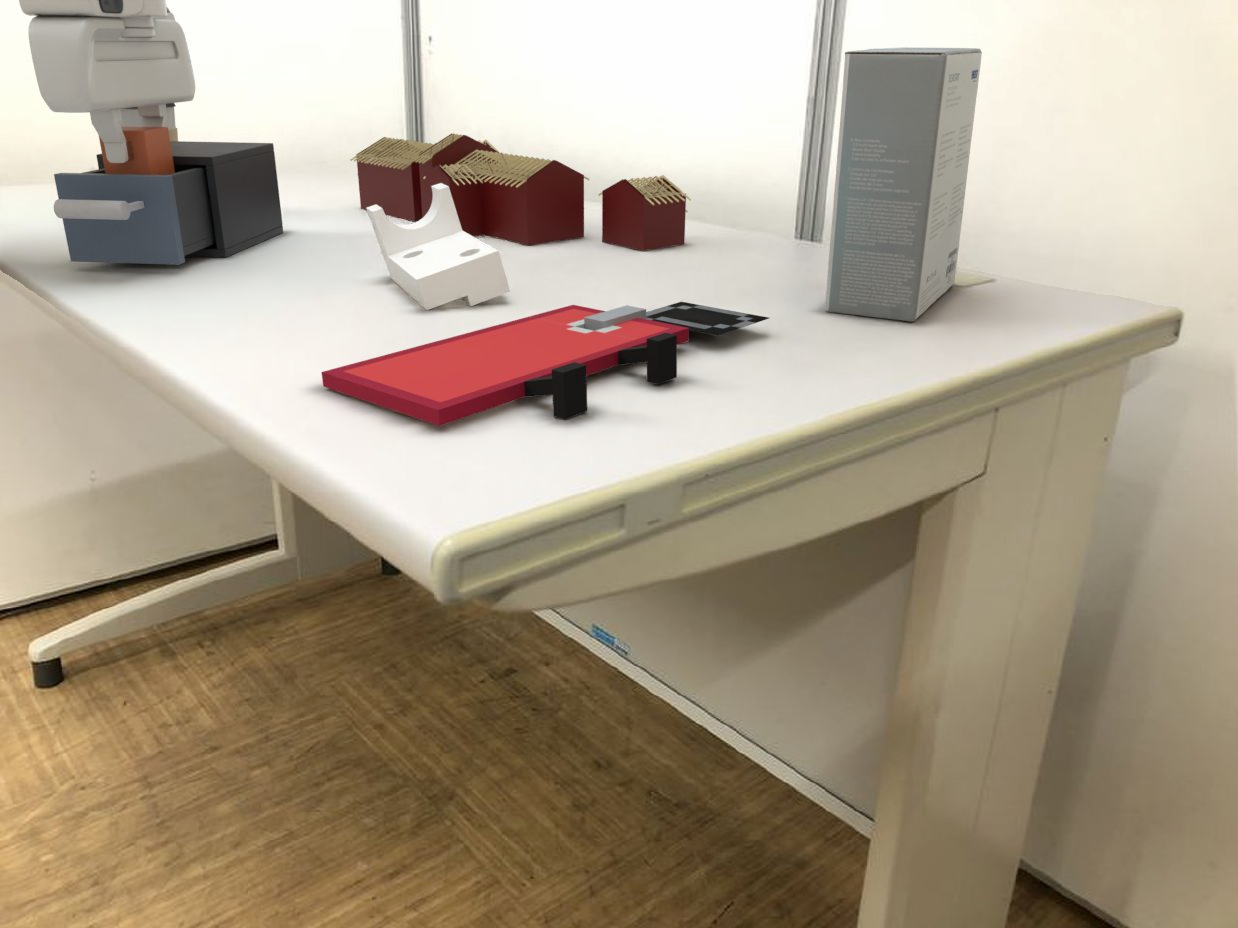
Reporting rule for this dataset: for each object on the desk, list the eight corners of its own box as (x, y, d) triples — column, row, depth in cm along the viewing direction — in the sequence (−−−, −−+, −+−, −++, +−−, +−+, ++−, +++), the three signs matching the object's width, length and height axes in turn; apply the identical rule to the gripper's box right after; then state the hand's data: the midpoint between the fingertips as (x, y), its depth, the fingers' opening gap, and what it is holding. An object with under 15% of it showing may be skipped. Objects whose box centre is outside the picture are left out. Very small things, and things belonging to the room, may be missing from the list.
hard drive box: (870, 277, 96) (895, 47, 88) (954, 286, 92) (987, 48, 85) (820, 312, 83) (844, 47, 75) (916, 324, 80) (950, 48, 72)
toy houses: (341, 210, 130) (333, 126, 126) (476, 196, 142) (473, 120, 138) (563, 266, 99) (562, 157, 95) (711, 242, 111) (715, 145, 107)
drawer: (155, 274, 89) (140, 183, 86) (42, 271, 90) (23, 180, 87) (242, 238, 106) (232, 160, 103) (146, 236, 107) (133, 158, 104)
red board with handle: (791, 334, 75) (636, 304, 84) (793, 296, 74) (636, 270, 83) (485, 449, 55) (324, 393, 64) (482, 399, 53) (318, 350, 63)
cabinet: (226, 257, 101) (212, 157, 97) (113, 254, 102) (95, 154, 98) (283, 232, 115) (273, 143, 111) (184, 230, 115) (170, 141, 112)
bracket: (394, 288, 94) (366, 207, 90) (465, 262, 96) (440, 183, 92) (430, 321, 83) (399, 231, 79) (510, 291, 85) (483, 202, 81)
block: (106, 180, 94) (97, 130, 92) (131, 174, 98) (123, 126, 96) (152, 181, 94) (144, 131, 92) (175, 175, 98) (168, 127, 96)
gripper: (138, 0, 100) (161, 148, 105) (2, -10, 81) (39, 171, 86) (200, 0, 99) (220, 149, 104) (79, -10, 80) (111, 172, 86)
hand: (137, 159), depth 95 cm, fingers closed on block, 4 cm apart
